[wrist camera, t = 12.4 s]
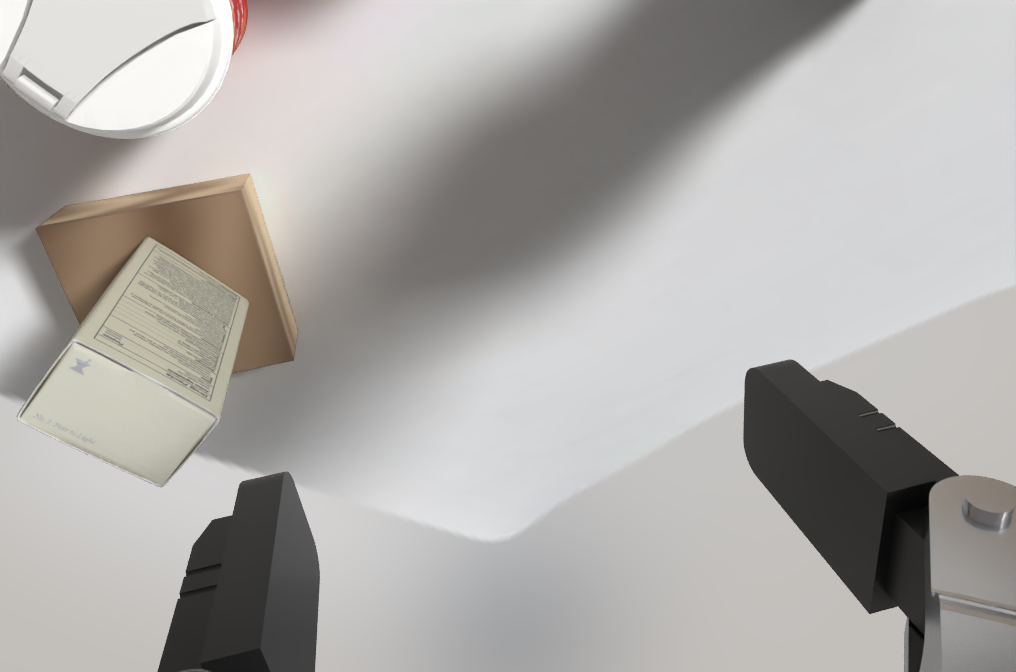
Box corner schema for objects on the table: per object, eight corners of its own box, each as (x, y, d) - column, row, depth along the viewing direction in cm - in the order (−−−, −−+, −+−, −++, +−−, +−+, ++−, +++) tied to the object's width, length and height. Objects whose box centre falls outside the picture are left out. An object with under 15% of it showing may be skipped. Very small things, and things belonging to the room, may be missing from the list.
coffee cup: (209, 122, 39) (136, 195, 25) (60, 6, 35) (-117, 21, 22) (306, -3, 37) (281, 6, 24) (159, -138, 33) (34, -216, 20)
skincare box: (102, 294, 37) (3, 419, 27) (150, 230, 37) (67, 333, 26) (210, 358, 40) (160, 494, 29) (257, 300, 39) (222, 420, 29)
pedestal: (250, 173, 40) (240, 191, 37) (298, 330, 45) (293, 360, 41) (64, 206, 39) (35, 228, 35) (132, 364, 44) (114, 398, 40)
